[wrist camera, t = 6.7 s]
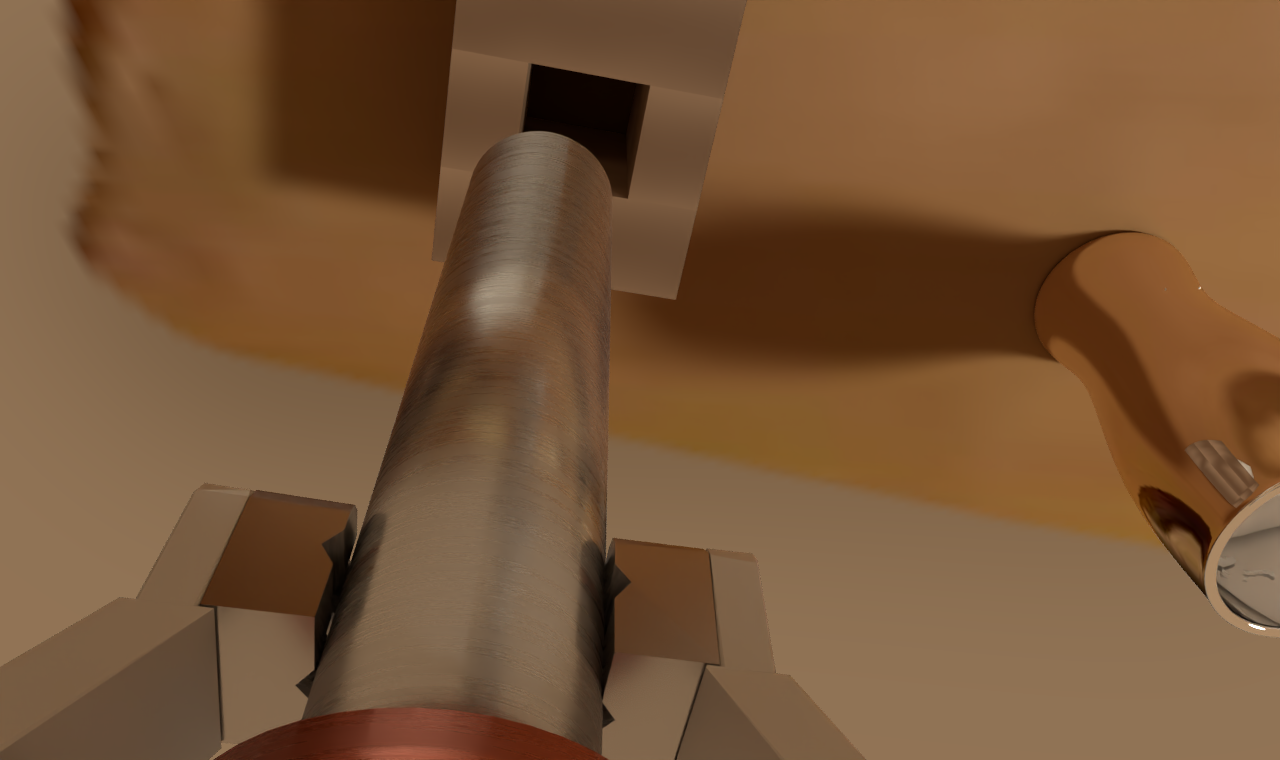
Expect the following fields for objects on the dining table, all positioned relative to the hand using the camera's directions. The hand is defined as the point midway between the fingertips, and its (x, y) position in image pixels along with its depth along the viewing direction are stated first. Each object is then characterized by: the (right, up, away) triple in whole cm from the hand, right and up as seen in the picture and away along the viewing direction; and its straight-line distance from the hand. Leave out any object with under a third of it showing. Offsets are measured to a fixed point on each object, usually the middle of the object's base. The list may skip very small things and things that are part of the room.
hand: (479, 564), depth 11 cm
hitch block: (0, +13, +26) cm, 29 cm away
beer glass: (+20, +5, +31) cm, 37 cm away
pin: (0, +5, +8) cm, 10 cm away
